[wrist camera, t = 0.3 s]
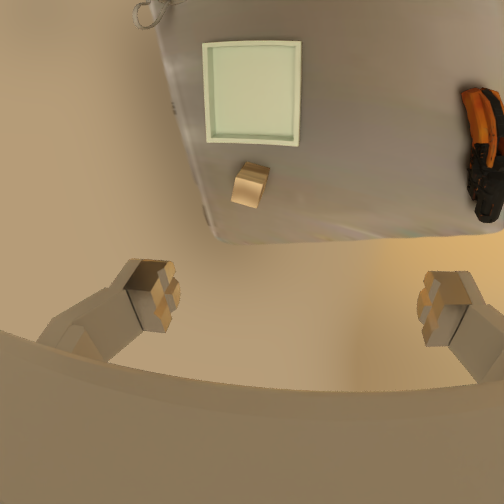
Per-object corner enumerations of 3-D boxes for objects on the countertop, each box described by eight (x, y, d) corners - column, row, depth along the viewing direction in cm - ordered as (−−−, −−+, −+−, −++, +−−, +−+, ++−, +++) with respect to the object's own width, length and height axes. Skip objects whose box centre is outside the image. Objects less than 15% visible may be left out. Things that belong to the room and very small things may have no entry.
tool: (448, 172, 56) (472, 229, 48) (452, 74, 39) (493, 125, 30) (480, 168, 53) (507, 224, 45) (490, 74, 36) (536, 124, 28)
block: (246, 161, 57) (235, 177, 51) (270, 168, 57) (262, 184, 51) (241, 183, 60) (230, 201, 54) (264, 189, 60) (256, 208, 53)
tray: (209, 43, 46) (202, 43, 43) (302, 42, 43) (300, 41, 40) (212, 137, 56) (206, 142, 53) (299, 141, 53) (298, 146, 50)
